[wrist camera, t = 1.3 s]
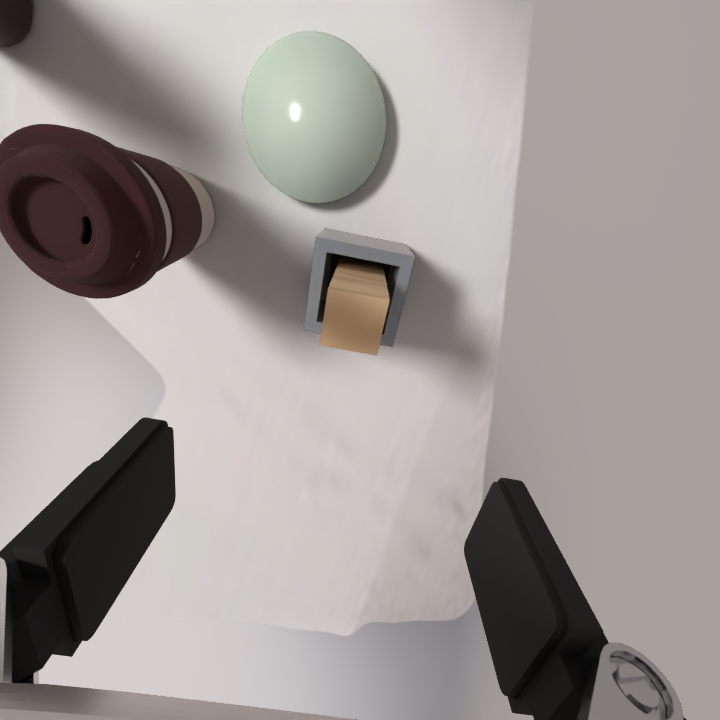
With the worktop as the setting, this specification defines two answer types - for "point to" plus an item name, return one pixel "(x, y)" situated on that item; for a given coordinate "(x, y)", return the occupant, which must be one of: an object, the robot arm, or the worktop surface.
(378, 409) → the worktop surface
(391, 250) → the gray open square box
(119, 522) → the robot arm
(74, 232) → the coffee cup
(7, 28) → the bottle
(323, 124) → the mint green dome
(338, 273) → the oak peg
